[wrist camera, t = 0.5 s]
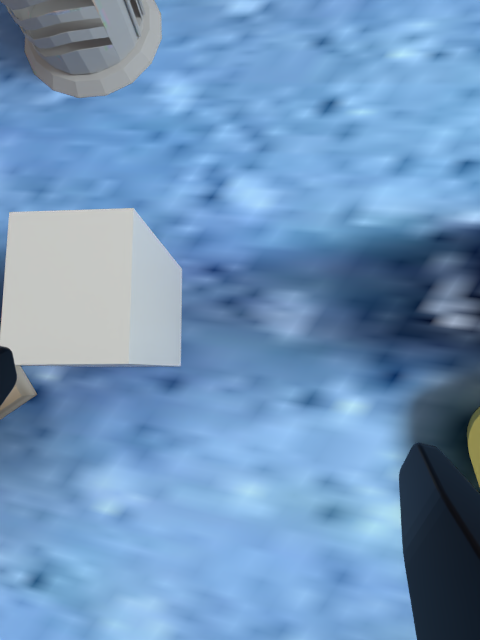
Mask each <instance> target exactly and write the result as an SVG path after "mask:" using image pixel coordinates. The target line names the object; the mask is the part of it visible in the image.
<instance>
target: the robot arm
mask: <svg viewBox="0 0 480 640" xmlns="http://www.w3.org/2000/svg"><path fill="white" fill-rule="evenodd" d="M16 381H17V372H16V368H15V363H14V358H13V353H12V351H11V350H10V349H9V348H8V347H4V346H0V406H1V405H2V404H3V402H4V401H5V399H6V398H7V396H8V395H9V394H10V392H11V391H12V389H13V388H14V386H15V384H16ZM399 488H400V507H401V525H402V543H403V554H404V562H405V569H406V575H407V581H408V587H409V593H410V599H411V605H412V611H413V617H414V624H415V630H416V636H417V640H480V493H479V492H478V491H477V490H476V489H475V488H474V487H473V486H472V485H471V483H470V482H469V481H468V480H467V479H466V478H465V477H464V476H463V475H462V474H461V472H460V471H459V470H458V469H457V468H456V467H455V466H454V465H453V464H452V463H451V462H450V460H449V459H448V458H447V457H446V456H445V455H444V454H443V453H442V452H441V451H440V450H439V449H438V448H437V447H435V446H431V445H427V444H423V443H415V444H414V445H413V446H412V448H411V450H410V452H409V454H408V456H407V457H406V459H405V461H404V463H403V465H402V467H401V469H400V474H399Z"/></svg>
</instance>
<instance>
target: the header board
mask: <svg viewBox="0 0 480 640" xmlns="http://www.w3.org/2000/svg"><path fill="white" fill-rule="evenodd" d="M15 368H16V372H17V381H16V384H15V386H14V388H13V389H12V391H11V392H10V394H9V395H8V396H7V398H6V399H5V401H4V402H3V404H2V405H1V406H0V420H1V419H2V418H4V417H5V416H6V415H8V414H9V413H11V412H12V411H14V410H15V409H17V408H18V407H20V406H21V405H23V404H24V403H25V402H27V401H28V400H30V399H31V398H33V397H34V396H36V395H37V393H36V392H35V390H34V388H33V386H32V385H31V383H30V381H29V380H28V378H27V376H26V374H25V373H24V371H23V369H22V368H21V366H20V365H15Z"/></svg>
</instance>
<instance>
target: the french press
mask: <svg viewBox="0 0 480 640" xmlns="http://www.w3.org/2000/svg"><path fill="white" fill-rule="evenodd" d="M0 1H1V2H2V3H3V4H4V5H6V7H7V10H8V12H9V13H10V15H11V16H12V18H13V19H14V21H15V22H16V23H17V24H18V25H19V26H20V28H21V30H22V32H23V33H24V35H25V54H26V56H27V58H28V61H29V63H30V65H31V68H32V70H33V72H34V74H35V75H36V76H37V77H38V78H40V79H41V80H42V81H43V82H44V83H45V84H47V85H48V86H49V87H50V88H51V89H52V90H54V91H58V92H61V93H64V94H68V95H71V96H74V97H78V98H81V97H93V96H104V95H108V94H110V93H112V92H114V91H116V90H118V89H121V88H123V87H125V86H127V85H129V84H131V83H133V82H134V81H135V79H136V78H137V77H138V76H139V75H140V74H141V73H142V72H143V71H144V70H145V69H146V68H147V67H148V66H149V65H150V64H151V63H152V61H153V58H154V56H155V53H156V51H157V49H158V46H159V44H160V41H161V39H162V35H161V13H160V11H159V9H158V7H157V5H156V3H155V1H154V0H0ZM10 9H11V11H12V12H13V14H14V15H15V16H14V15H12V13H11V11H10ZM23 28H24V29H25V31H24V29H23Z"/></svg>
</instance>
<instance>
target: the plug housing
mask: <svg viewBox="0 0 480 640" xmlns="http://www.w3.org/2000/svg"><path fill="white" fill-rule="evenodd" d="M181 306H182V269H181V267H180V266H179V265H178V264H177V262H176V261H175V260H174V258H173V257H172V256H171V255H170V253H169V252H168V251H167V250H166V248H165V247H164V246H163V245H162V243H161V242H160V241H159V240H158V238H157V237H156V236H155V235H154V233H153V232H152V231H151V230H150V228H149V227H148V226H147V225H146V223H145V222H144V221H143V220H142V218H141V217H140V216H139V215H138V213H137V212H136V211H135V209H134V208H126V209H95V210H64V211H33V212H9V224H8V237H7V251H6V264H5V277H4V290H3V304H2V317H1V330H0V346H4V347H8V348H9V349H10V350H11V351H12V353H13V358H14V363H15V365H28V366H81V367H142V366H181Z"/></svg>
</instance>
